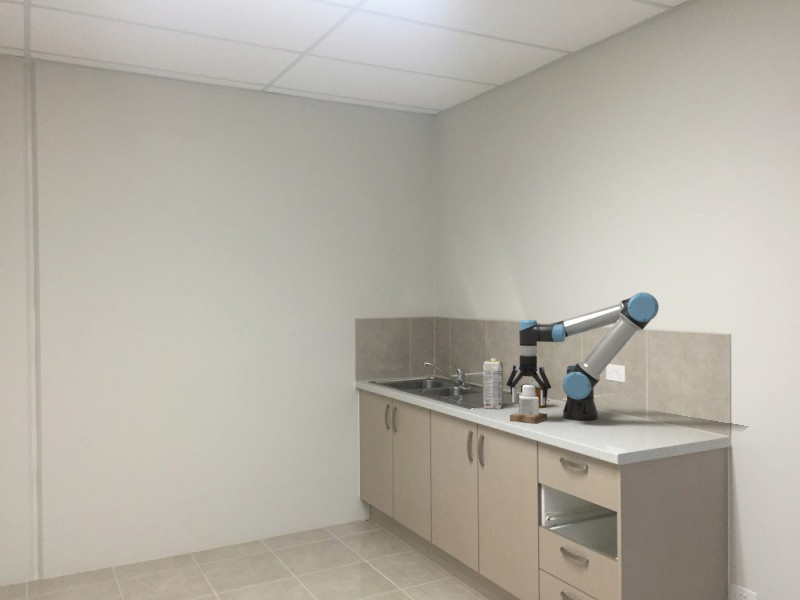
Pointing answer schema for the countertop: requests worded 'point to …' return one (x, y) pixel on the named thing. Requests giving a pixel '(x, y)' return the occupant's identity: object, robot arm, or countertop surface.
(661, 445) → the countertop surface
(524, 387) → the container
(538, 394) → the disposable coffee cup
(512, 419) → the stand
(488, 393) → the juice carton
